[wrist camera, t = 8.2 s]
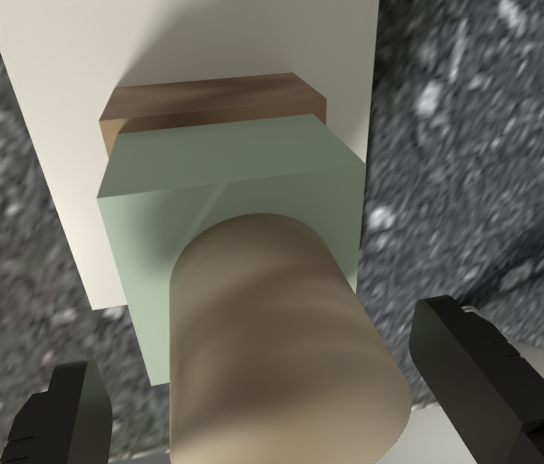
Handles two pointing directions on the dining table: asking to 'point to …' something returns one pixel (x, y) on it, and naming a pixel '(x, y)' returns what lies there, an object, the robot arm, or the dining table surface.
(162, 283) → the sage block
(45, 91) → the base board
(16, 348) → the dining table surface
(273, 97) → the walnut block
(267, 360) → the birch cylinder
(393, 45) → the dining table surface
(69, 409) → the robot arm
